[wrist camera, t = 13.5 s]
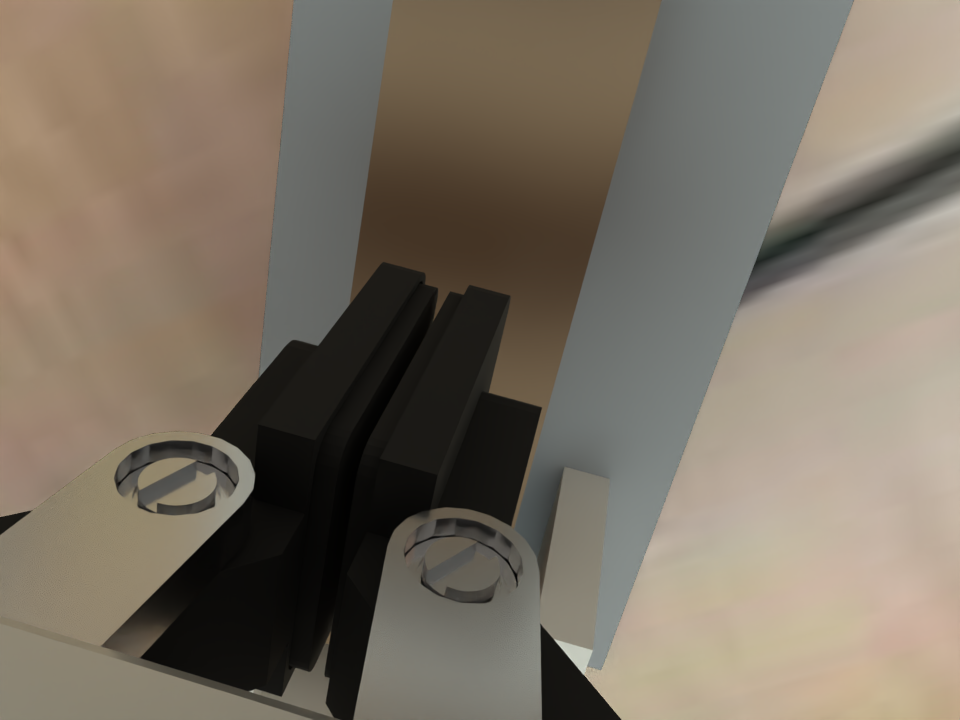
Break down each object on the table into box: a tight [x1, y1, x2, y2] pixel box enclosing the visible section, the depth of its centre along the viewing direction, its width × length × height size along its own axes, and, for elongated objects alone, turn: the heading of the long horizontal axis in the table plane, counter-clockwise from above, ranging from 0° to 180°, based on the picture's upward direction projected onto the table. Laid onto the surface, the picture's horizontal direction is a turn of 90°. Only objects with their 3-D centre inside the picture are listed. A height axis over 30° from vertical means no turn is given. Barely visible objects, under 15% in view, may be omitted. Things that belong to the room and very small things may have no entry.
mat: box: [259, 0, 854, 670], centre depth 21 cm, size 27×11×1 cm, turn 168°
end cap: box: [249, 467, 610, 718], centre depth 23 cm, size 6×8×6 cm
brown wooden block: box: [326, 0, 662, 644], centre depth 18 cm, size 20×4×5 cm, turn 168°
